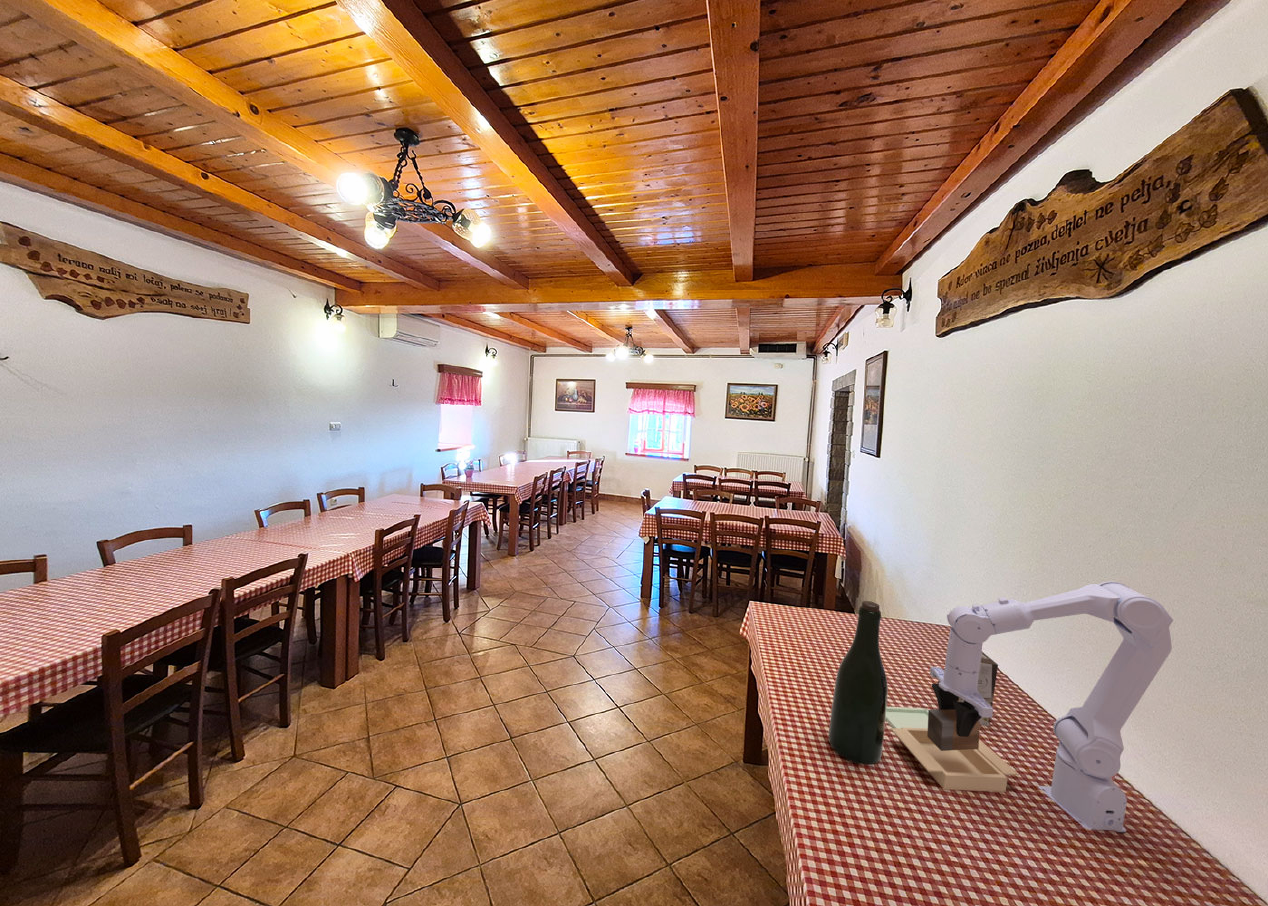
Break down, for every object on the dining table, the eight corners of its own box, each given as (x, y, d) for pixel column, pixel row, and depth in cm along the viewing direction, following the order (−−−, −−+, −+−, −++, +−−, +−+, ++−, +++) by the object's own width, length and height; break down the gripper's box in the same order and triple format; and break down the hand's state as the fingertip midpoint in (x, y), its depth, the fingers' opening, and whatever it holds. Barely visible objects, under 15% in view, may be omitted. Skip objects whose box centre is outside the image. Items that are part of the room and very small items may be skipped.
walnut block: (978, 749, 92) (980, 721, 91) (941, 750, 92) (942, 722, 91) (963, 735, 96) (964, 708, 95) (927, 736, 96) (928, 709, 95)
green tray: (955, 742, 102) (956, 736, 102) (901, 740, 101) (901, 734, 101) (925, 713, 112) (926, 708, 112) (875, 711, 111) (876, 706, 111)
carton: (1019, 795, 88) (1022, 777, 88) (929, 791, 87) (931, 773, 87) (965, 745, 101) (967, 729, 101) (886, 741, 101) (888, 725, 100)
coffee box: (990, 729, 108) (999, 665, 107) (961, 723, 109) (969, 660, 108) (970, 706, 117) (978, 647, 116) (943, 701, 118) (950, 642, 117)
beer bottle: (851, 770, 91) (869, 614, 89) (817, 735, 101) (833, 594, 99) (892, 763, 94) (911, 612, 91) (855, 729, 104) (871, 592, 101)
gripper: (920, 647, 100) (912, 704, 101) (971, 685, 85) (962, 752, 86) (950, 648, 100) (943, 706, 101) (1006, 687, 85) (997, 754, 86)
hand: (954, 727), depth 94 cm, fingers closed on walnut block, 4 cm apart
